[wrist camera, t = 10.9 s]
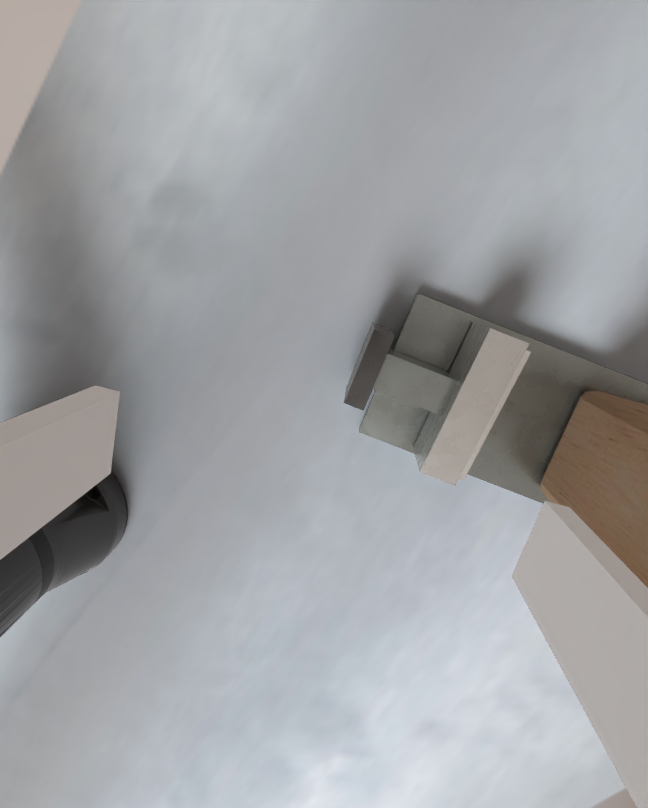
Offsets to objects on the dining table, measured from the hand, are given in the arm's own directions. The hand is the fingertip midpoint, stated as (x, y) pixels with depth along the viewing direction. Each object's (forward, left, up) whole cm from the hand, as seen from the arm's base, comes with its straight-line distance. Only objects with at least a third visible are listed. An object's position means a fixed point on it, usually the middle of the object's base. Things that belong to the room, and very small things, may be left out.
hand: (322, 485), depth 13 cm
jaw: (+6, 0, -25) cm, 26 cm away
